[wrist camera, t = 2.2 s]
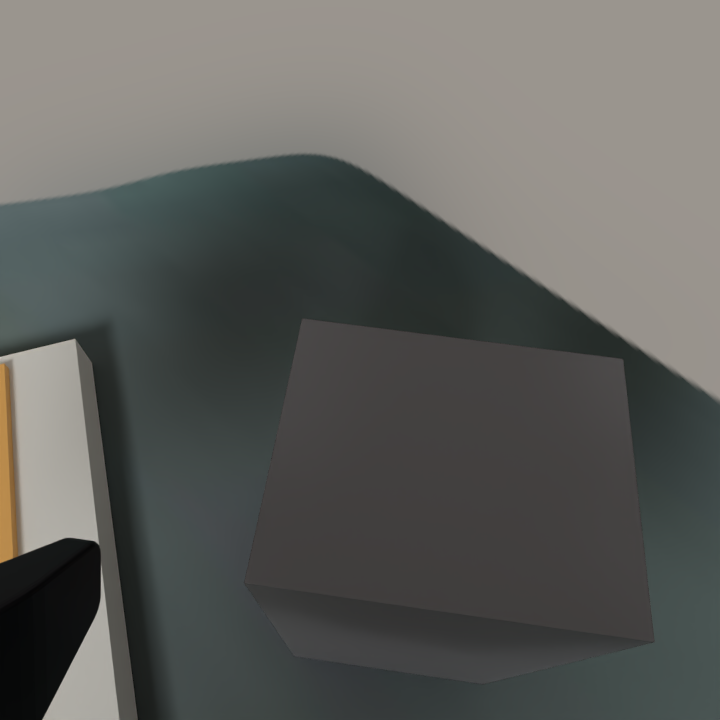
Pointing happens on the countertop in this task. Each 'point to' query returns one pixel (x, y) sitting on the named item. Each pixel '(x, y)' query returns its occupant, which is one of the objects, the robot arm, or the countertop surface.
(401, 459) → the chute block
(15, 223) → the countertop surface
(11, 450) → the white plate with inlay
